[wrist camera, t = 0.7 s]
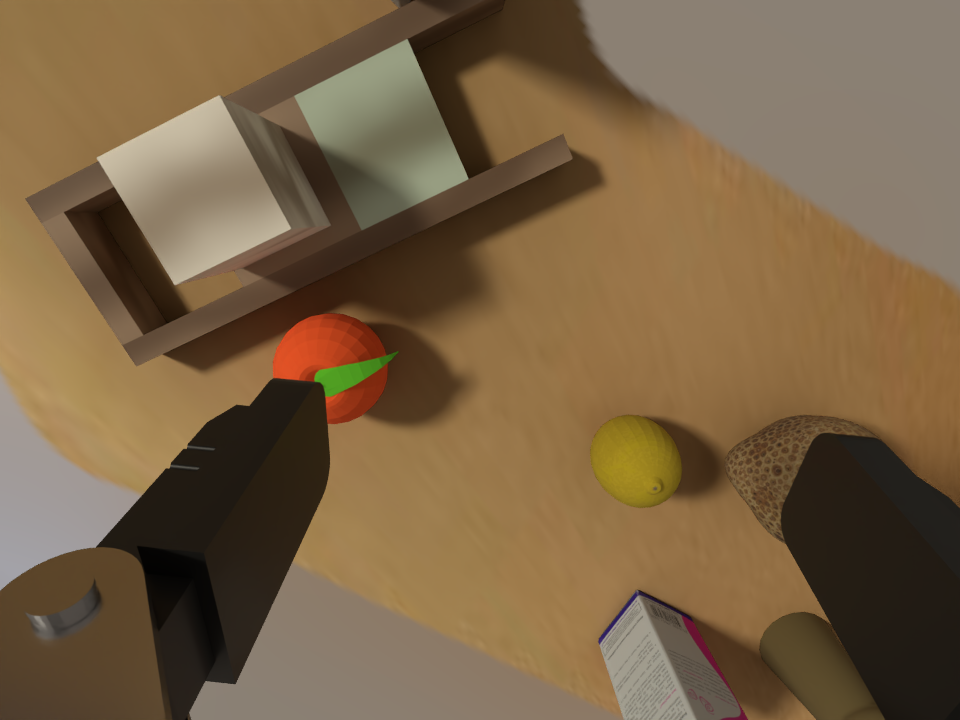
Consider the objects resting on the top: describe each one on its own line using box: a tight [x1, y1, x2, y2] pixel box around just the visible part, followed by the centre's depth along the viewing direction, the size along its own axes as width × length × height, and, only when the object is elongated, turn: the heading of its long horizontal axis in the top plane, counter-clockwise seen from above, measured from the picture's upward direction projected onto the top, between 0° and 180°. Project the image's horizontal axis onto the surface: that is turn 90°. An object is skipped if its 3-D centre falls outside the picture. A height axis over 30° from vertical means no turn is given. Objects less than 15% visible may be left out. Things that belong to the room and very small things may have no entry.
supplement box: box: [598, 590, 748, 720], centre depth 39 cm, size 6×6×12 cm
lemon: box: [590, 415, 682, 508], centre depth 36 cm, size 6×6×8 cm
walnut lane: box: [25, 0, 573, 366], centre depth 33 cm, size 11×30×3 cm, turn 114°
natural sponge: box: [725, 415, 881, 544], centre depth 35 cm, size 9×9×10 cm
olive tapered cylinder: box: [759, 612, 885, 720], centre depth 40 cm, size 6×6×11 cm
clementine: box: [273, 313, 399, 424], centre depth 34 cm, size 8×7×7 cm
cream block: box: [97, 95, 331, 285], centre depth 27 cm, size 6×6×8 cm
